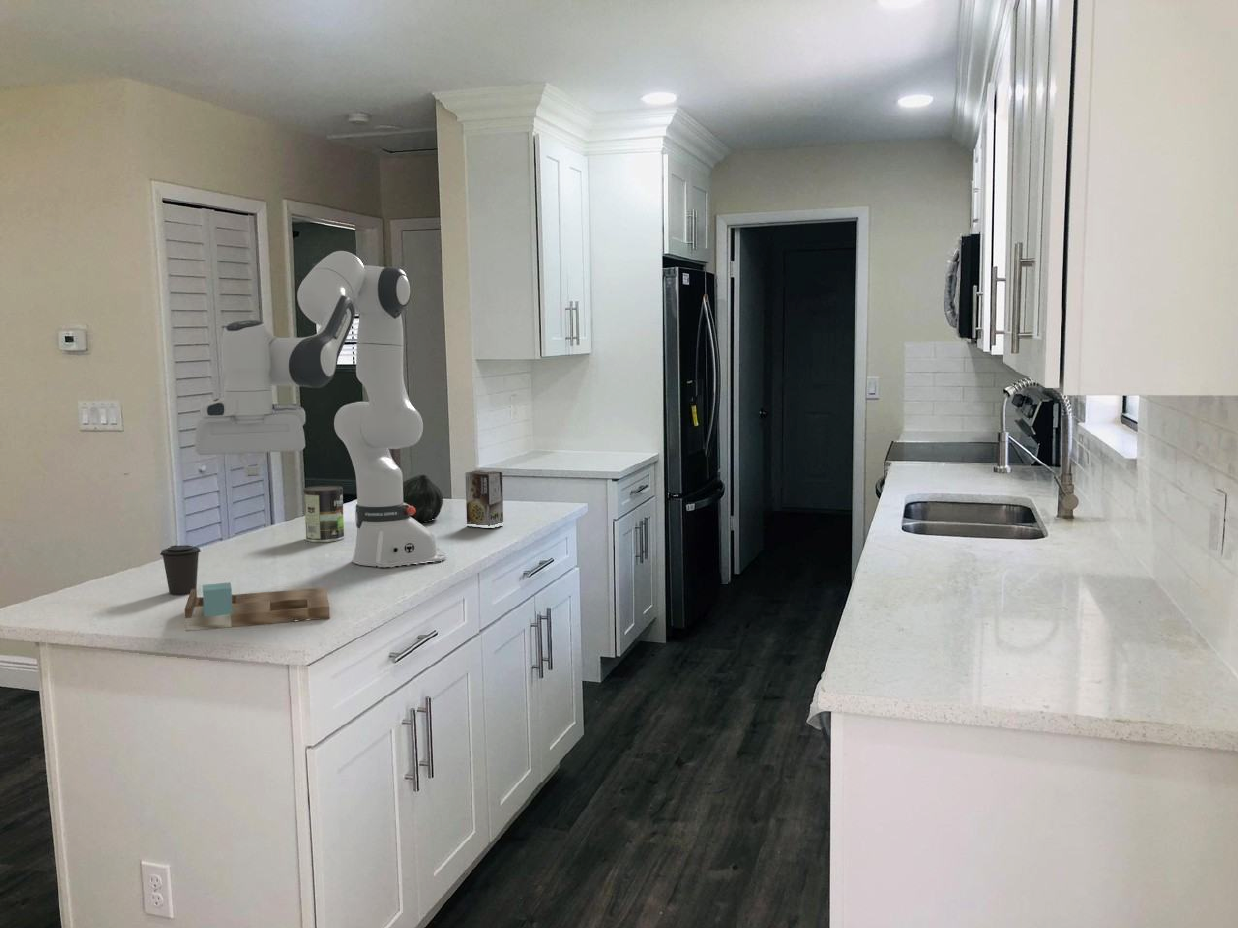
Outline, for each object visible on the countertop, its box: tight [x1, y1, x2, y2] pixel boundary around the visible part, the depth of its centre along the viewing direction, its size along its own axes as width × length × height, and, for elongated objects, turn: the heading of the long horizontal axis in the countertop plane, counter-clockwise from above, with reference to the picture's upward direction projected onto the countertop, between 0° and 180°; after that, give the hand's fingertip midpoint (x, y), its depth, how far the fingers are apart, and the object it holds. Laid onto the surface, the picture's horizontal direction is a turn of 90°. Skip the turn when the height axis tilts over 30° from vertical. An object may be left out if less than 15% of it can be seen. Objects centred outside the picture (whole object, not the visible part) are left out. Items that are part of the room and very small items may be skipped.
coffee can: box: [303, 485, 345, 543], centre depth 277 cm, size 10×10×14 cm
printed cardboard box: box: [464, 469, 504, 526], centre depth 295 cm, size 9×6×16 cm
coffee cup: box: [159, 544, 202, 596], centre depth 219 cm, size 8×8×10 cm
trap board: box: [184, 587, 331, 632], centre depth 202 cm, size 26×16×4 cm, turn 109°
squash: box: [403, 473, 444, 522], centre depth 304 cm, size 14×15×15 cm
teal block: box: [202, 581, 233, 617], centre depth 194 cm, size 5×5×5 cm
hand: (252, 475), depth 198 cm, fingers closed
